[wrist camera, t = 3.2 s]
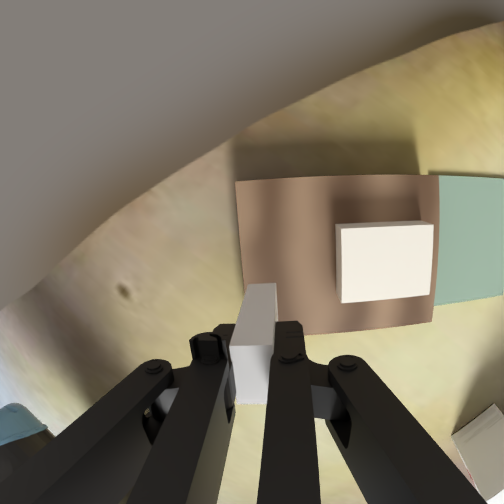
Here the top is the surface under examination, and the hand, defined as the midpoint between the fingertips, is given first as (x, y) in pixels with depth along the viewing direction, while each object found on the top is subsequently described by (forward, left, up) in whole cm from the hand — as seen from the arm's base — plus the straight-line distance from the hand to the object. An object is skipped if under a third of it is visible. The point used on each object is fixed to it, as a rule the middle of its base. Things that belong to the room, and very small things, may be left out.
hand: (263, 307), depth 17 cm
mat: (+23, 0, -14) cm, 27 cm away
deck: (+7, 0, -14) cm, 15 cm away
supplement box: (+33, -32, -14) cm, 48 cm away
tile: (+10, 0, -10) cm, 14 cm away
